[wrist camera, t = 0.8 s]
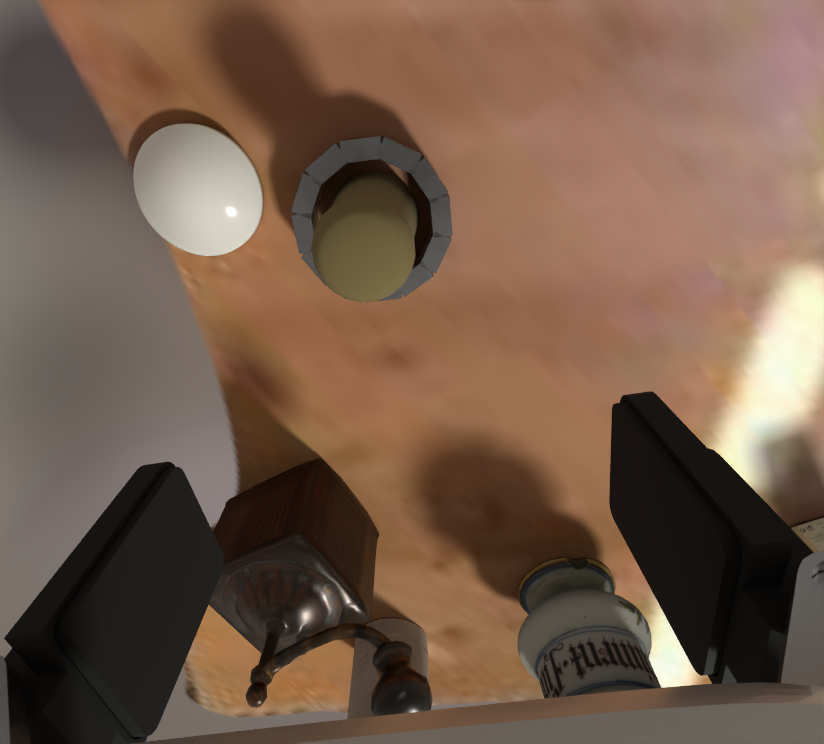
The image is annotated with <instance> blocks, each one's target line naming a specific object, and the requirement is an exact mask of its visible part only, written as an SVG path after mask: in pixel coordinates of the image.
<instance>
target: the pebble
mask: <svg viewBox="0 0 824 744" xmlns="http://www.w3.org/2000/svg"><path fill="white" fill-rule="evenodd" d="M133 182H134V189H135V194H136V197H137V201H138V203H139V206H140V208H141V210H142V212H143V214H144V215H145V217H146V219H147V220H148V222H149V223H150V224H151V226H152V227H153V228H154V229H155V230H156V231H157V232H158V233H159V234H160V235H161V236H162V237H163V238H164V239H166V240H167V241H168V242H170V243H171V244H173V245H174V246H176V247H178V248H180V249H182V250H184V251H187V252H190V253H193V254H198V255H205V256H215V255H221V254H225V253H228V252H231V251H233V250H235V249H237V248H238V247H240V246H241V245H242V244H244V243H245V242H247V241H248V240H249V239H250V238H251V237H252V235H253V234H254V233H255V231H256V230H257V228H258V226H259V224H260V221H261V218H262V214H263V210H264V192H263V187H262V183H261V179H260V176H259V174H258V171H257V169H256V167H255V165H254V164H253V162H252V160H251V159H250V157H249V156H248V155H247V153H246V152H245V151H244V150H243V149H242V148H241V147H240V145H238V144H237V143H236V142H235V141H234V140H233V139H231V138H230V137H228V136H227V135H226V134H224V133H222V132H220V131H218V130H216V129H214V128H211V127H208V126H204V125H200V124H174V125H170V126H167V127H164V128H161V129H160V130H158V131H156V132H155V133H153V134H152V135H151V136H150V137H149V138H148V139H147V140H146V141H145V142H144V143H143V145H142V146H141V148H140V150H139V152H138V154H137V157H136V160H135V164H134V172H133Z"/></svg>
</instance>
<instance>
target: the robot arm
mask: <svg viewBox="0 0 824 744" xmlns="http://www.w3.org/2000/svg"><path fill="white" fill-rule="evenodd" d="M609 502H610V509H611V513H612V516H613V519H614V521H615V523H616V524H617V526H618V528H619V530H620V532H621V534H622V536H623V538H624V539H625V541H626V543H627V545H628V547H629V549H630V551H631V552H632V554H633V556H634V558H635V560H636V562H637V564H638V566H639V567H640V569H641V571H642V573H643V575H644V577H645V579H646V580H647V582H648V584H649V586H650V588H651V590H652V592H653V594H654V595H655V597H656V599H657V601H658V603H659V605H660V607H661V608H662V610H663V612H664V614H665V616H666V618H667V620H668V621H669V623H670V625H671V627H672V629H673V631H674V633H675V635H676V636H677V638H678V640H679V642H680V644H681V646H682V648H683V649H684V651H685V653H686V655H687V657H688V659H689V661H690V663H691V664H692V666H693V668H694V669H695V671H696V672H697V673H698V674H699V675H701V676H702V675H708V677H709V679H710V680H711V682H712V684H703V685H691V686H679V687H667V688H655V689H643V690H631V691H619V692H607V693H596V694H586V695H576V696H566V697H557V698H547V699H537V700H527V701H518V702H508V703H498V704H488V705H478V706H469V707H460V708H450V709H441V710H430V711H421V712H411V713H402V714H393V715H383V716H374V717H365V718H355V719H346V720H337V721H328V722H318V723H309V724H300V725H291V726H282V727H272V728H264V729H254V730H245V731H237V732H228V733H220V734H210V735H202V736H193V737H184V738H175V739H167V740H158V741H149V742H145V741H146V739H147V736H149V735H151V734H152V733H153V732H154V731H155V730H156V728H157V726H158V724H159V722H160V720H161V717H162V715H163V713H164V710H165V708H166V705H167V703H168V700H169V698H170V696H171V693H172V691H173V688H174V686H175V684H176V681H177V679H178V676H179V674H180V672H181V669H182V667H183V664H184V662H185V660H186V657H187V655H188V652H189V650H190V648H191V645H192V643H193V640H194V638H195V636H196V633H197V631H198V628H199V626H200V623H201V621H202V619H203V616H204V614H205V611H206V609H207V607H208V604H209V602H210V599H211V597H212V595H213V592H214V590H215V587H216V585H217V583H218V580H219V578H220V575H221V573H222V570H223V566H224V557H223V553H222V551H221V549H220V546H219V544H218V542H217V540H216V538H215V536H214V534H213V532H212V530H211V528H210V526H209V523H208V522H207V519H206V517H205V515H204V513H203V511H202V509H201V507H200V505H199V503H198V500H197V498H196V496H195V494H194V492H193V490H192V488H191V486H190V484H189V482H188V480H187V477H186V475H185V473H184V472H183V470H182V469H181V468H179V467H175V465H174V464H172V463H171V462H163V463H156V464H149V465H144V466H141V467H140V468H138V469H137V471H136V472H135V473H134V474H133V476H132V477H131V478H130V480H129V481H128V482H127V483H126V485H125V486H124V487H123V488H122V490H121V491H120V492H119V493H118V495H117V496H116V497H115V498H114V500H113V501H112V502H111V504H110V505H109V506H108V507H107V509H106V510H105V511H104V512H103V514H102V515H101V516H100V518H99V519H98V520H97V521H96V523H95V524H94V525H93V526H92V528H91V529H90V530H89V531H88V533H87V534H86V535H85V536H84V538H83V539H82V540H81V542H80V543H79V544H78V545H77V547H76V548H75V549H74V550H73V552H72V553H71V554H70V555H69V557H68V558H67V559H66V561H65V562H64V563H63V564H62V566H61V567H60V568H59V569H58V571H57V572H56V573H55V574H54V576H53V577H52V578H51V580H50V581H49V582H48V583H47V585H46V586H45V587H44V589H43V590H42V591H41V592H40V593H39V595H38V596H37V597H36V599H35V600H34V601H33V602H32V604H31V605H30V606H29V607H28V609H27V610H26V611H25V613H24V614H23V615H22V616H21V618H20V619H19V620H18V621H17V623H16V624H15V625H14V627H13V628H12V629H11V630H10V632H9V633H8V634H7V635H6V637H5V638H4V639H5V640H6V641H7V642H8V643H9V644H10V646H11V647H12V649H11V651H10V652H9V653H8V655H7V656H6V657H5V658H4V657H3V656H0V744H824V551H821V552H815V553H814V552H813V551H812V550H811V549H810V548H809V547H808V546H807V545H806V544H805V543H804V542H803V541H802V540H801V538H800V537H799V536H798V535H797V534H796V533H795V532H794V531H793V530H792V529H791V528H790V527H789V526H788V525H787V524H786V523H785V522H784V521H783V520H782V519H781V518H780V517H779V516H778V515H777V514H776V513H775V512H774V511H773V510H772V509H771V508H770V506H769V505H768V504H767V503H766V502H765V501H764V500H763V499H762V498H761V497H760V496H759V495H758V494H757V493H756V492H755V491H754V490H753V489H752V488H751V487H750V486H749V485H748V484H747V483H746V482H745V481H744V480H743V479H742V478H741V477H740V476H739V474H738V473H737V472H736V471H735V470H734V469H733V468H732V467H731V466H730V465H729V464H728V463H727V462H726V461H725V460H724V459H723V458H722V457H721V456H720V455H719V454H718V453H716V452H715V451H714V450H711V449H708V448H707V447H706V446H705V445H704V444H703V443H702V442H701V441H700V440H699V439H698V438H697V437H696V436H695V435H694V434H693V433H692V432H691V431H690V430H689V429H688V427H687V426H686V425H685V424H684V423H683V422H682V421H681V420H680V419H679V418H678V417H677V416H676V415H675V414H674V413H673V412H672V411H671V410H670V409H669V407H668V406H667V405H666V404H665V403H664V402H663V401H662V400H661V399H660V398H659V397H658V396H657V395H656V394H655V393H654V392H643V393H636V394H629V395H623V396H622V397H621V400H620V403H616V404H614V405H613V407H612V430H611V464H610V499H609Z"/></svg>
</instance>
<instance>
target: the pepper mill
mask: <svg viewBox="0 0 824 744" xmlns="http://www.w3.org/2000/svg"><path fill="white" fill-rule="evenodd" d="M213 534H214V536H215V538H216V540H217V542H218V544H219V546H220V549H221V551H222V553H223V557H224V566H223V570H222V573H221V575H220V578H219V580H218V583H217V585H216V587H215V590H214V592H213V595H212V597H211V599H210V602H209V605H210V606H211V607H212V608H213V609H214V610H215V611H216V612H217V613H218V614H220V615H221V616H222V617H223V618H224V619H225V620H226V621H227V622H228V623H229V624H230V625H231V626H233V627H234V628H235V629H236V630H237V631H238V632H239V633H240V634H241V635H242V636H243V637H244V638H245V639H246V640H248V641H249V642H250V643H251V644H252V645H253V646H254V647H255V648H256V649H257V650H258V651H260V652H261V653H262V654H261V658H260V661H259V664H258V665H257V666H256V667H255V668H253V669H252V670H251V677H250V682H251V683H252V684H251V686H250V687H249V688H248V691H247V693H246V700H247V702H248V705H250V706H251V707H256V708H257V707H259V706H261V705H262V704H263V703H264V701H265V700H266V698H267V685H268V684H270V683H271V681H272V678H273V676H274V674H275V673H276V672H278V671H279V670H280V669H281V668H282V667H284V666H285V665H287V664H289V663H291V662H292V661H293V660H294V659H296V658H297V657H299V656H301V655H304V654H305V653H306V652H308V651H310V650H312V649H314V648H317V647H319V646H321V645H324V644H326V643H328V642H331V641H333V640H338V639H343V638H359V639H361V640H364V641H366V642H368V643H369V644H371V645H372V646H373V647H375V648H376V649H377V650H376V652H375V653H374V655H373V665H374V667H375V669H376V670H377V672H378V675H379V678H378V681H377V684H376V685H375V687H374V689H373V690H372V693H371V708H370V709H371V710H372V712H373V714H374V715H375V716H383V715H393V714H402V713H411V712H421V711H430V710H431V706H432V700H433V699H432V694H431V690H430V686H429V683H428V680H427V677H425V676H424V675H422V674H420V673H419V672H418V671H417V670H416V669H415V668H414V667H413V666H412V665H411V662H412V660H413V657H412V648H411V646H410V645H408V644H406V643H404V642H403V641H393V642H392V641H391V640H390V639H389V638H388V637H387V636H385V635H384V634H382V633H381V632H379V631H378V630H376V629H375V628H373V627H370V626H367V625H363V623H365V622H368V621H370V620H371V616H372V600H373V586H374V572H375V557H376V547H377V539H378V537H379V532H378V531H377V529H376V527H375V525H374V523H373V522H372V520H371V518H370V516H369V515H368V513H367V512H366V510H365V509H364V508H363V506H362V505H361V504H360V502H359V501H358V500H357V498H356V497H355V496H354V494H353V493H352V492H351V490H350V489H349V488H348V486H347V485H346V484H345V482H344V481H343V480H342V479H341V477H340V476H338V475H337V474H336V473H335V472H334V471H333V470H332V469H331V468H330V467H329V466H328V465H327V464H326V463H325V462H324V461H323V460H322V459H317V460H314V461H310V462H306V463H304V464H301V465H299V466H297V467H294V468H292V469H290V470H288V471H285V472H283V473H281V474H279V475H277V476H275V477H272V478H270V479H268V480H266V481H264V482H262V483H260V484H258V485H256V486H254V487H252V488H250V489H248V490H246V491H244V492H243V493H241V494H239V495H237V496H235V497H233V498H231V499H229V500H228V501H227V502H226V506H225V508H224V510H223V512H222V514H221V517H220V519H219V521H218V523H217V525H216V527H215V529H214V531H213Z"/></svg>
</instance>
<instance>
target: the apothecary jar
mask: <svg viewBox="0 0 824 744" xmlns="http://www.w3.org/2000/svg"><path fill="white" fill-rule="evenodd" d="M614 593H615V580H614V577H613V575H612V574H611V572H610V571H609V570H608V569H607V568H606V567H605V566H604V565H602V564H601V563H599V562H597V561H595V560H592V559H588V558H583V559H578V560H570V559H569V558H567V557H563V558H557V559H554V560H550V561H547V562H545V563H543V564H541V565H539V566H537V567H536V568H534V569H533V570H532V571H530V572H529V573H528V574H527V575H526V576H525V577H524V579H523V580H522V582H521V584H520V587H519V592H518V595H519V601H520V604H521V606H522V608H523V609H524V610H525V611H526V612H527V613H528V614H529V615H528V616H527V618H526V619H525V621H524V623H523V625H522V627H521V629H520V632H519V635H518V651H519V655H520V658H521V661H522V663H523V665H524V667H525V668H526V670H527V671H528V672H529V673H530V674H531V676H532V677H534V678H535V679H536V680H537V681H538V682H540V685H541V688H542V691H543V695H544V698H545V699H547V698H557V697H566V696H576V695H586V694H596V693H607V692H619V691H631V690H643V689H655V688H661V686H660V684H659V681H658V679H657V677H656V675H655V673H654V671H653V668H652V666H651V663H650V661H649V658H648V657H649V654H650V650H651V632H650V628H649V626H648V623H647V621H646V619H645V618H644V616H643V615H642V613H641V612H640V611H639V610H638V609H637V608H636V607H635V606H634V605H633V604H632V603H630V602H629V601H627V600H626V599H624V598H622V597H620V596H618V595H615V594H614Z"/></svg>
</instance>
